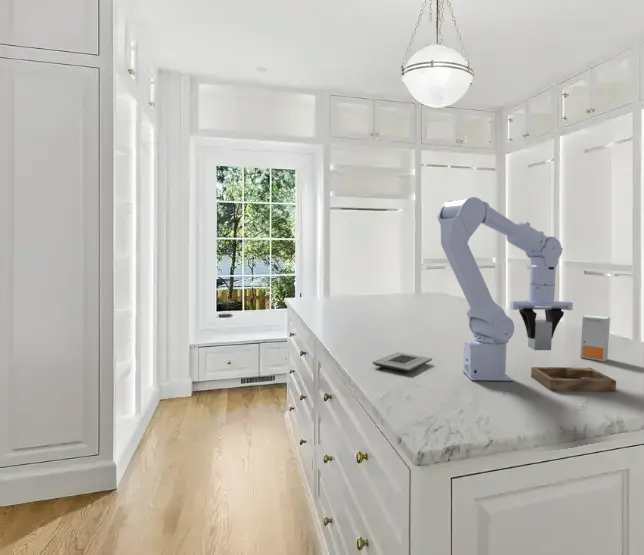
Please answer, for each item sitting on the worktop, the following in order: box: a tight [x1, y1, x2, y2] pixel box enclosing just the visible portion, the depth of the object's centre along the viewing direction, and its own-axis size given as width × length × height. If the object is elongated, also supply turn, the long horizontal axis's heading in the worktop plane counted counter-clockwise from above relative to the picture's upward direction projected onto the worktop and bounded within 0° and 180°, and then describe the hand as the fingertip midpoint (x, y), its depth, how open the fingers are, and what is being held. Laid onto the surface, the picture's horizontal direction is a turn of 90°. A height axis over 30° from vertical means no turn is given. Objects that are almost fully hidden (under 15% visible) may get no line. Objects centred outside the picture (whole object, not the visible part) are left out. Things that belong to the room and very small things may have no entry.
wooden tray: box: [530, 366, 617, 392], centre depth 101 cm, size 14×10×2 cm
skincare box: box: [579, 314, 611, 363], centre depth 122 cm, size 6×4×12 cm
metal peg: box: [527, 319, 553, 351], centre depth 111 cm, size 4×4×7 cm
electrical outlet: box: [372, 351, 433, 373], centre depth 116 cm, size 13×10×2 cm
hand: (539, 337), depth 111 cm, fingers closed on metal peg, 4 cm apart
